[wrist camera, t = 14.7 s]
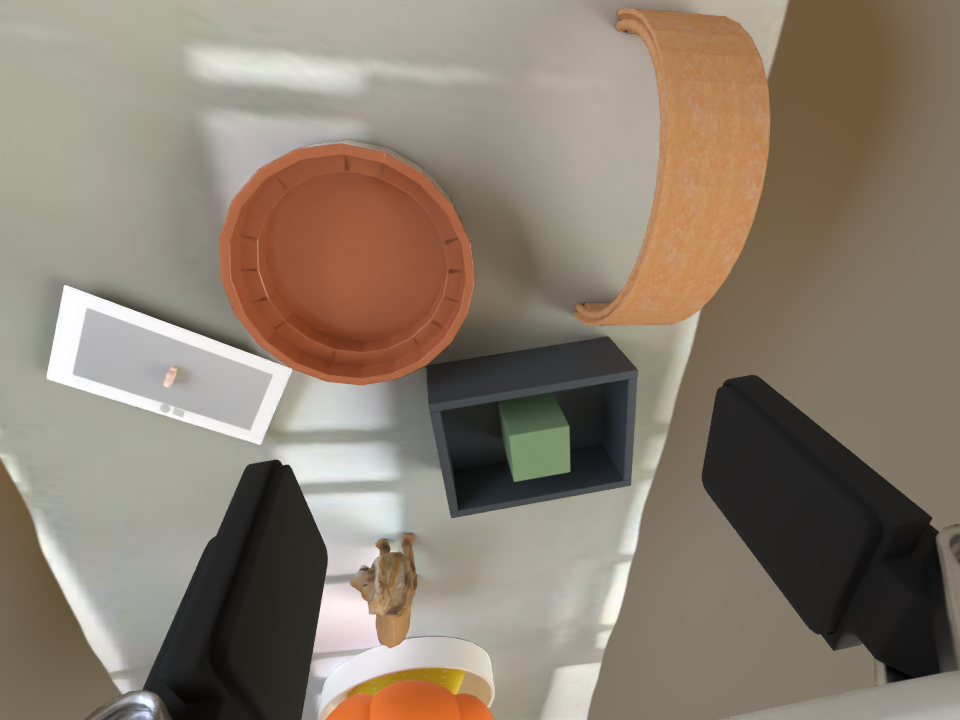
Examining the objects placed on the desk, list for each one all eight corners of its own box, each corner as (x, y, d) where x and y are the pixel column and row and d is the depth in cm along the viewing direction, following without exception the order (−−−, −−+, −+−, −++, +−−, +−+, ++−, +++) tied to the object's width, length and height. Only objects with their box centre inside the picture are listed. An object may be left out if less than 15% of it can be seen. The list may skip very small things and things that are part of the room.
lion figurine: (355, 514, 45) (343, 600, 37) (411, 506, 45) (411, 590, 37) (380, 610, 51) (375, 700, 44) (428, 602, 52) (432, 690, 44)
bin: (426, 365, 38) (428, 404, 33) (608, 336, 39) (638, 369, 34) (446, 471, 43) (451, 518, 38) (606, 443, 44) (631, 485, 39)
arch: (705, 18, 29) (832, -23, 20) (638, 315, 38) (706, 375, 30) (617, 9, 28) (710, -36, 20) (571, 315, 38) (619, 376, 29)
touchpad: (74, 279, 31) (53, 290, 30) (295, 362, 36) (289, 376, 34) (56, 371, 34) (35, 386, 32) (264, 436, 39) (256, 453, 37)
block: (496, 395, 39) (509, 436, 34) (549, 387, 40) (569, 425, 35) (501, 438, 42) (513, 482, 37) (551, 430, 42) (570, 472, 37)
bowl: (205, 158, 29) (175, 164, 25) (451, 126, 30) (456, 128, 26) (283, 371, 37) (268, 400, 33) (478, 340, 38) (485, 365, 34)
